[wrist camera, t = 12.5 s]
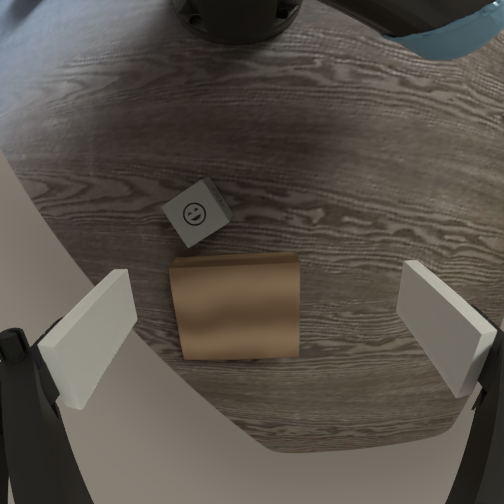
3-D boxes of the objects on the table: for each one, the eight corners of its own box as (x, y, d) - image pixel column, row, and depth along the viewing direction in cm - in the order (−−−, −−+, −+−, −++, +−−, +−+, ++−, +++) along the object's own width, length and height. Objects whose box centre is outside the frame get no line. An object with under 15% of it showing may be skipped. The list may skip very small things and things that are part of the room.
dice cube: (196, 236, 36) (173, 200, 35) (233, 213, 35) (209, 176, 34) (188, 248, 31) (160, 207, 30) (229, 222, 31) (201, 179, 29)
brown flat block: (176, 257, 37) (168, 268, 33) (295, 251, 37) (299, 262, 33) (189, 342, 40) (184, 359, 36) (295, 338, 40) (298, 356, 36)
